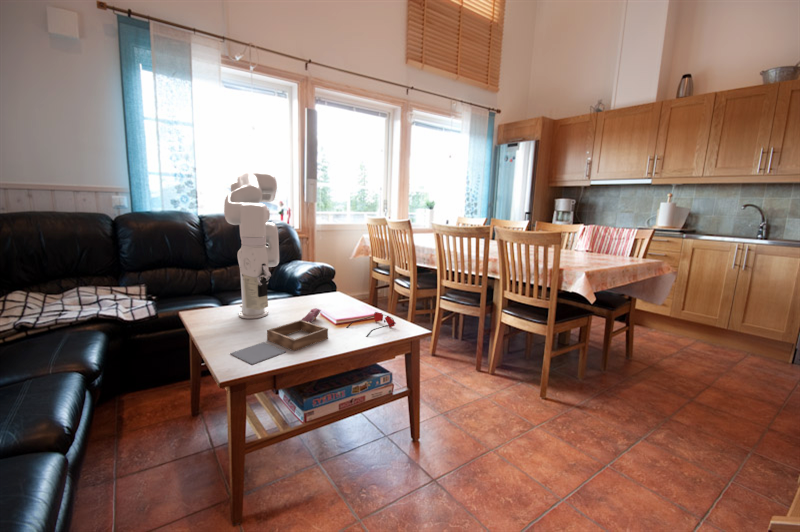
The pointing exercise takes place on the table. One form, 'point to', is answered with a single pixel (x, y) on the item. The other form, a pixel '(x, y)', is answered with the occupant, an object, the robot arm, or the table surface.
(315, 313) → the pink animal figurine
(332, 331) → the table surface
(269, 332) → the walnut box
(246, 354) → the grey mat
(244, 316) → the robot arm
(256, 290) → the skincare box
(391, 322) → the glasses
